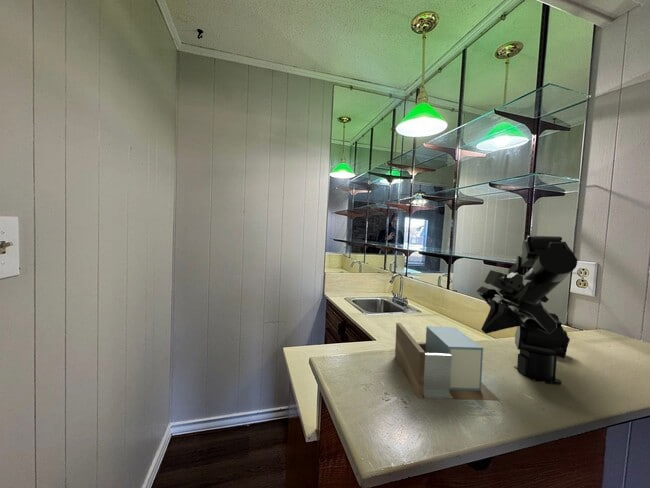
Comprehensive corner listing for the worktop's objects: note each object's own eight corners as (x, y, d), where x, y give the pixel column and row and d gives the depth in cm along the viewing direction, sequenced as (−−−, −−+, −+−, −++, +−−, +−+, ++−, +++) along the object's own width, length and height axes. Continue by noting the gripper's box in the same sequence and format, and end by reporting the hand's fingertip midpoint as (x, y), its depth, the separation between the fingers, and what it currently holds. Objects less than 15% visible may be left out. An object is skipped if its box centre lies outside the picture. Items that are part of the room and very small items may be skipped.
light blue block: (452, 362, 66) (454, 326, 66) (480, 390, 54) (483, 347, 54) (424, 361, 66) (426, 326, 66) (446, 389, 54) (449, 346, 54)
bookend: (447, 392, 53) (449, 353, 53) (452, 398, 51) (454, 358, 51) (420, 391, 53) (422, 352, 53) (424, 397, 51) (426, 357, 51)
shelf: (456, 360, 68) (458, 324, 68) (500, 403, 51) (502, 354, 51) (394, 359, 68) (396, 322, 68) (417, 400, 51) (420, 352, 51)
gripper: (485, 255, 68) (441, 296, 69) (545, 264, 50) (484, 320, 50) (514, 285, 69) (470, 326, 69) (584, 306, 50) (523, 361, 51)
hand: (483, 331), depth 60 cm, fingers closed
